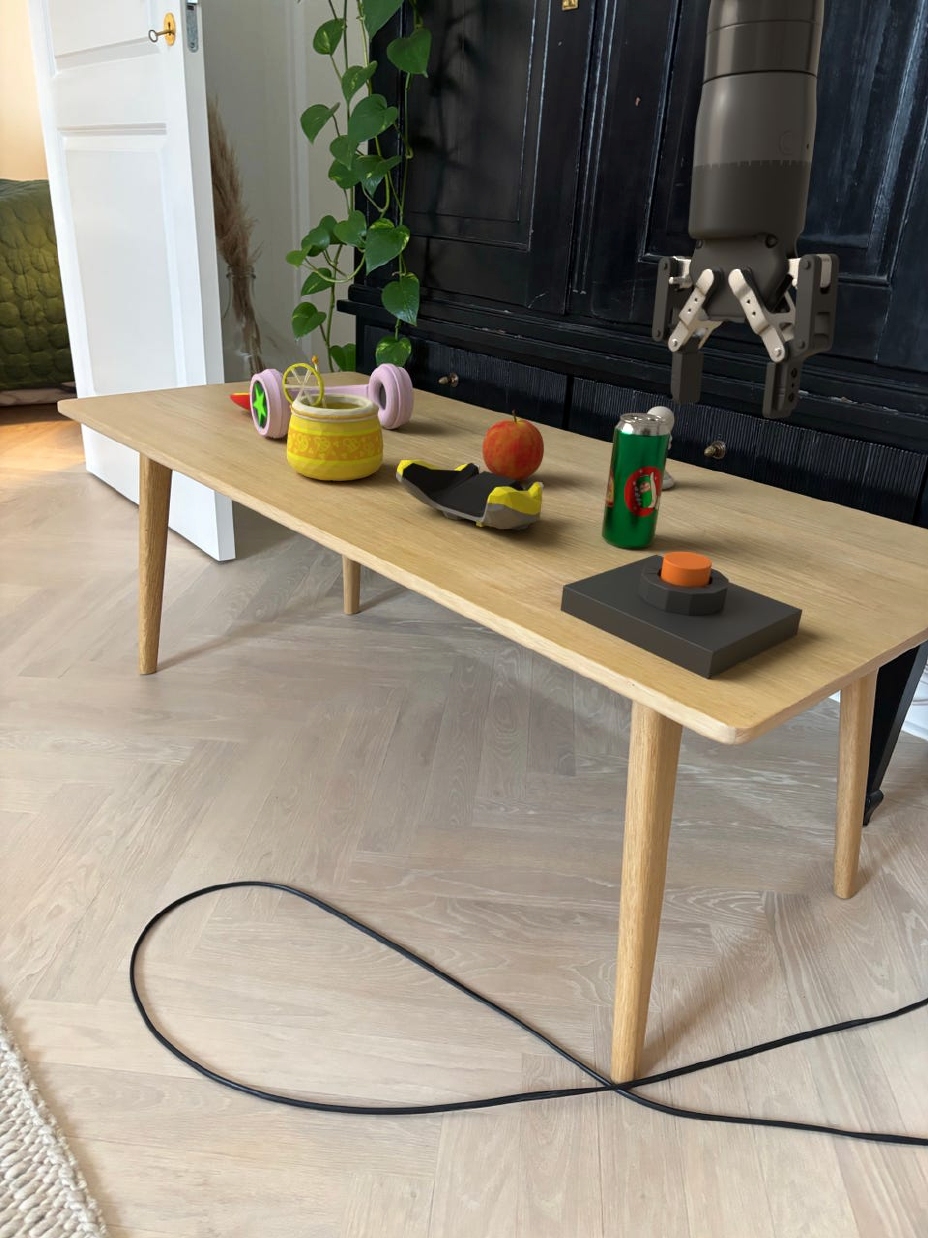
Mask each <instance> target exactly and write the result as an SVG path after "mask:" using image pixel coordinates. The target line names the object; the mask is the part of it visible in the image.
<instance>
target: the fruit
mask: <svg viewBox="0 0 928 1238" xmlns="http://www.w3.org/2000/svg"><path fill="white" fill-rule="evenodd" d="M511 414H512V417H513V419H512V418H510V419H503V420H500V421H497V422H496V423H494V424H493V425H491V427H490V428H489V429H488V430H487V432H486V434H485V436H484V438H483V442H482V458H483V462H484V464H485V466H486V468H487V469H488V470H489V472H490V473H494V474H497V475H500V476H504V477H507V478H511V479H514V480H517V481H518V482H521V481H524V480H525V479H527V478H530V477H531V476H532V475H533V474H535V473H536V472H537V471H538V469H539V468H540V467H541V464H542V462H543V459H544V456H545V455H544V453H545V444H544V443H545V442H544V437H543V435H542V434H541V432H540V430H539V428H538V427H536V425H534V424H532V423H531V422H529V421H528V420H526V419H523V418H517V416H516V412H515V410H514V409H513V410H512V412H511Z"/></svg>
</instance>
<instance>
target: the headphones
mask: <svg viewBox="0 0 928 1238" xmlns="http://www.w3.org/2000/svg"><path fill="white" fill-rule="evenodd" d="M283 377H284V373H283V372H280V371H278V370H277V369H275V368H267V369H264V370H263V371H261V372H259V373H254V375H253V376H252V378H251V381H250V384H249V386H250V387H249V392H235V393H233V394H229V399H230V400H231V402H233V403H234V404H236V405H237V406H239V407H241V408H242V409H244V410H247V411H249V412H251V417H252V419H253V423H254V426H255V428H256V431H257V432H258V434H260V435H261V436H266V437H270V438H272V437H273V438H272V439H282V438H284V437H285V436H286V435H288V431H289V423H290V418H291V415H292V412H291V409H290V405H291V403H290V401H289V400H288V399H287V398H286V396H285V394H284V390H283V384H282V382H283ZM287 383H288V384H290V382H289V380H288V379H287ZM287 389H288V393H289V395H290V396H291V398H292V399H293V400H294V401H295V399H296V397H297V395H298V394H299V392H300V390H301V391H302V389H301V387H294V388H287ZM304 390H305V392H306V393H307V391H308V393H309V394H310V395H311V394H320V391H319V390H316V389H310V388H306V389H305V388H304ZM304 390H303V392H302V395H301V397H303V396H306V394H305V392H304ZM306 390H307V391H306ZM324 393H338V394H350V395H357V396H362V397H366V398H368V399H370V400H372V401H373V402H375V403H376V405H378V407H379V412H378V419H379V421H380V424H381V427H384V428H385V429H387V430H392V429H398V428H399V427H400V426H401V425H405V424H407V423H408V422H409V421H410V420H411V418H412V415H413V412H414V405H415V404H414V403H415V402H414V401H415V396H414V395H415V394H414V387H413V383H412V380H411V377H410V375H409V373H408V372H407V370H406V369H405V368H403V367H401V366H397V365H394V364H393V363H382V364H380V365H379V366H378V367H377V368H375V369H374V371H373V372H372V373H371V375H370V377H369V381H368V384H367V383H366V384H351V385H349V384H348V385H333V386H331V385H330V386H324ZM307 395H308V394H307Z"/></svg>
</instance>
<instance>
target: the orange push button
mask: <svg viewBox="0 0 928 1238" xmlns="http://www.w3.org/2000/svg"><path fill="white" fill-rule="evenodd" d="M663 557H664V560H663V566H662V572H661V579H662V580H664V581H666V582H669V583H671V584H674V585H679V586H685V587H704V586H707V585H708V582H709V577H710V572H711V568H712V567H713V562H712V561H711V559H709V558H708V557H706V556H705V555H703V554H699V553H695V552H691V551H679V550H678V551H670V552H667V553H666V554H664V556H663Z"/></svg>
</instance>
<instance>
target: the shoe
mask: <svg viewBox="0 0 928 1238" xmlns="http://www.w3.org/2000/svg"><path fill="white" fill-rule="evenodd" d="M395 478H396V479H397V480H398V482H399V483H400V485H401V486H402V487H403V488H404V490H405V491H406V493H408V494H409V495H410V496H412V497H413V498H415V499H416V500H418V501H419V502H421V503H423V504H424V505H427V506H429V507H432V508H435V509H436V510H439V511H442V513H443V516H444V517H446V518H447V519H448V520H449V519H450V520H455V521H461V520H466V519H467V520H470V521H473V522H476V524H475V525H476V526H477V527H480V528H483V527H486V526H487V527H490V528H496V529H498V530H509V529H510V530H516V531H520V530H526V529H527V528H528V527H529V525H530V524H532V523H535V522H537V521H538V520H539V519H540V518H541V514H542V513H541V512H542V504H543V489H544V484H543V483H542V481H541V482H540V481H532V482H529V483H528V484H527V486H526V487H525V488H523V486H522V484H520V481H517V480H514V479H511V478H507V477H504V476H500V475H497V474H494V473H492V472H491V471H486V470H483V471H481V466H480V465H479V464H477V463H473V462H469V463H465V464H462V465H460V466H458V467H456V468H455V469H454V470H453V469H442V468H440V467H438V466H435V465H432V464H430V463H429V462H425V461H423V460H420V459H402V460H400V462H399V465H398V466H397V469H396V473H395Z"/></svg>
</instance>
